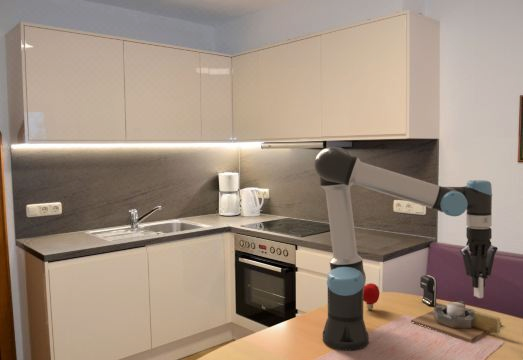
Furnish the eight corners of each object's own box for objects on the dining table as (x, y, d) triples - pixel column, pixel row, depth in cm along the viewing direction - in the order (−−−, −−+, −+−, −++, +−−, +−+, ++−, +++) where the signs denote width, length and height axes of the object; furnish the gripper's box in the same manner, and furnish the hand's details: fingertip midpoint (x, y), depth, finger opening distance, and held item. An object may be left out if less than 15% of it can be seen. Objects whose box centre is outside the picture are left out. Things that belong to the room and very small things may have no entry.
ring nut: (427, 319, 164) (427, 306, 164) (447, 310, 173) (448, 297, 173) (488, 339, 147) (488, 324, 147) (508, 327, 156) (508, 313, 155)
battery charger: (418, 301, 187) (419, 274, 186) (427, 300, 188) (427, 273, 187) (428, 307, 180) (428, 279, 180) (437, 306, 181) (437, 278, 180)
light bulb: (367, 304, 185) (367, 280, 184) (383, 308, 180) (383, 283, 179) (356, 311, 177) (356, 286, 177) (372, 315, 173) (372, 289, 172)
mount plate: (470, 342, 148) (470, 321, 147) (411, 322, 165) (411, 303, 165) (501, 325, 161) (501, 305, 161) (443, 308, 179) (444, 291, 178)
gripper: (469, 230, 145) (469, 302, 146) (504, 227, 148) (503, 298, 149) (454, 226, 152) (454, 295, 154) (487, 223, 155) (487, 291, 157)
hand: (478, 296), depth 152 cm, fingers closed
